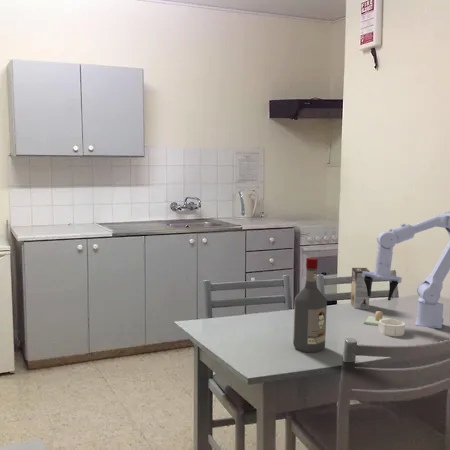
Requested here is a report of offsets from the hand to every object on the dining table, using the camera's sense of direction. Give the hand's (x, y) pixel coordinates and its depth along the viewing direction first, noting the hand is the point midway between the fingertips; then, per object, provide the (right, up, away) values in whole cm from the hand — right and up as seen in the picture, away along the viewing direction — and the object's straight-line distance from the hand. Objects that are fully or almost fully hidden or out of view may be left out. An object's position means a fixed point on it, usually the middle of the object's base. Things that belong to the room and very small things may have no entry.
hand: (379, 298), depth 218 cm
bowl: (+1, -11, -11) cm, 16 cm away
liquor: (-31, -13, -29) cm, 45 cm away
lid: (0, -9, +1) cm, 9 cm away
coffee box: (-1, -7, +25) cm, 26 cm away
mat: (0, -10, +1) cm, 10 cm away
